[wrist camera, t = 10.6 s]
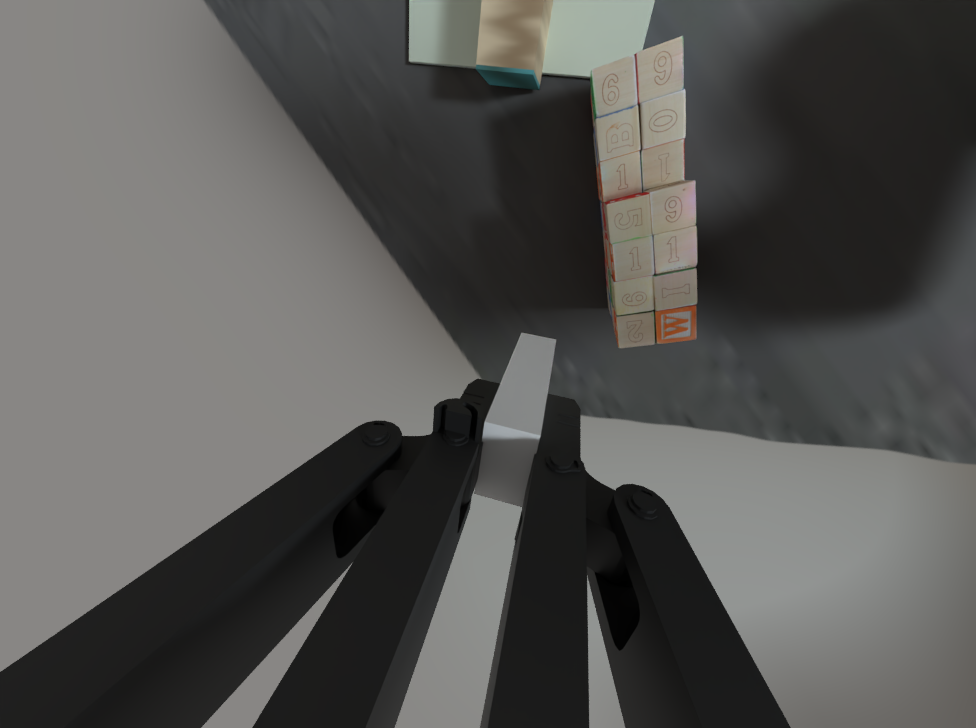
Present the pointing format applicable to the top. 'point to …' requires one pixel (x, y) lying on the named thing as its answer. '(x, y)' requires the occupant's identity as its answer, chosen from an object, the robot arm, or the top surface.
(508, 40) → the maple block
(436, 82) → the top surface
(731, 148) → the top surface
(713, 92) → the top surface
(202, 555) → the robot arm
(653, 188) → the stack of blocks
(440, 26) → the sage cutting board
